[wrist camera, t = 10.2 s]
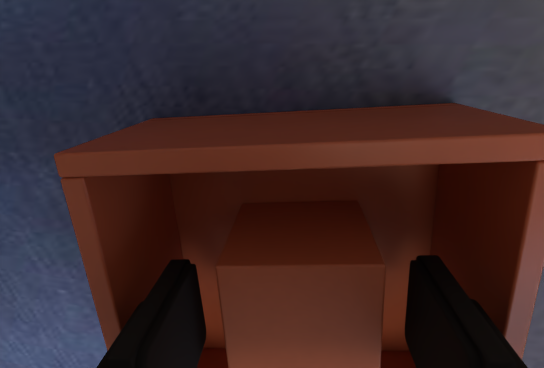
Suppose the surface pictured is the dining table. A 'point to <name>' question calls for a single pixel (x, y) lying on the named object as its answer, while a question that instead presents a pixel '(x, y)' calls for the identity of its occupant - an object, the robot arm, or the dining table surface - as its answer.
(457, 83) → the dining table surface
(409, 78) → the dining table surface
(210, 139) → the terracotta bin
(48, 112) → the dining table surface
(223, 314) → the terracotta block
